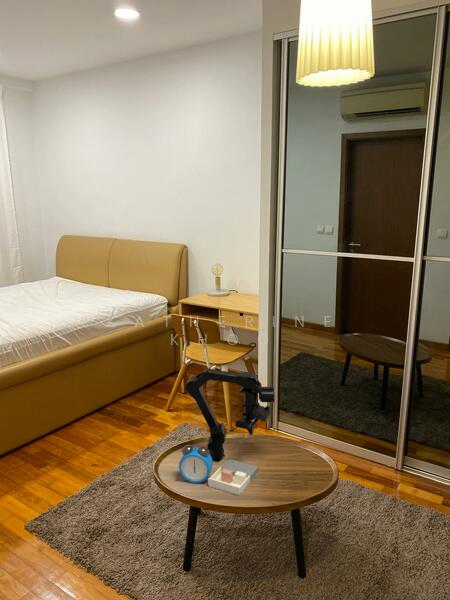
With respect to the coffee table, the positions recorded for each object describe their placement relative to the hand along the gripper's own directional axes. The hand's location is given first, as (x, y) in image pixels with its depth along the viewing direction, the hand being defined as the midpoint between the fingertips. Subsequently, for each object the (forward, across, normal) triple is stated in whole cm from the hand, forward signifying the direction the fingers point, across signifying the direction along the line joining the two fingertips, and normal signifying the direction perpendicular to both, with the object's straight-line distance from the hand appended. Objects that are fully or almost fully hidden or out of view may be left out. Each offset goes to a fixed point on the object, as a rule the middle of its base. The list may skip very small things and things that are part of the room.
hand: (251, 434), depth 202 cm
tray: (+12, -21, 0) cm, 24 cm away
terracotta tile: (+9, -19, +2) cm, 21 cm away
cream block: (+9, -18, -4) cm, 20 cm away
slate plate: (+12, -12, 0) cm, 17 cm away
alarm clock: (+12, -24, +14) cm, 30 cm away
